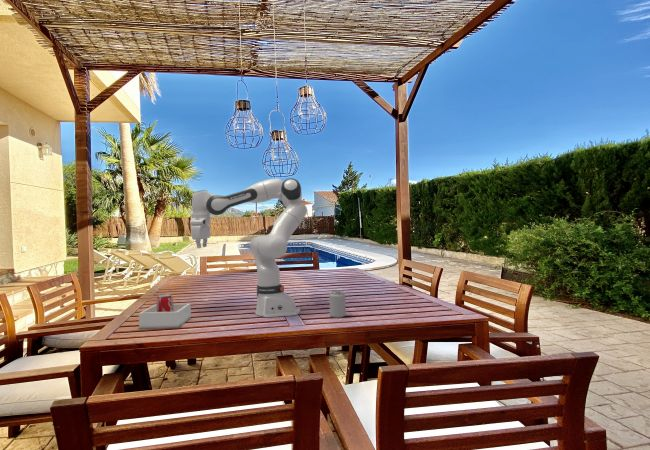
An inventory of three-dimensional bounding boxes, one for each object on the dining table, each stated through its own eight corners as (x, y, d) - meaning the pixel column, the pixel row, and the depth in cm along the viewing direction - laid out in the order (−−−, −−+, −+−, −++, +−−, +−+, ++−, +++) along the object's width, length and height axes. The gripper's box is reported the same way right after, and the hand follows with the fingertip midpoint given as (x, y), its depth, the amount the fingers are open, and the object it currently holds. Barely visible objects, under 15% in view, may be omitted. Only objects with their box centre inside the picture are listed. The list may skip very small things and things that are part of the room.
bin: (191, 317, 183) (190, 303, 183) (177, 327, 166) (177, 312, 166) (155, 318, 182) (155, 304, 182) (139, 328, 165) (138, 313, 165)
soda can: (167, 323, 170) (166, 296, 170) (153, 322, 172) (152, 296, 171) (176, 319, 177) (175, 293, 177) (163, 318, 178) (162, 293, 178)
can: (347, 314, 182) (346, 290, 182) (343, 318, 175) (342, 293, 175) (332, 313, 184) (332, 289, 184) (327, 317, 177) (327, 292, 177)
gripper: (201, 221, 208) (202, 246, 208) (188, 221, 187) (189, 249, 188) (212, 221, 208) (213, 245, 208) (201, 221, 187) (202, 248, 188)
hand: (201, 247), depth 198 cm, fingers open, 8 cm apart
